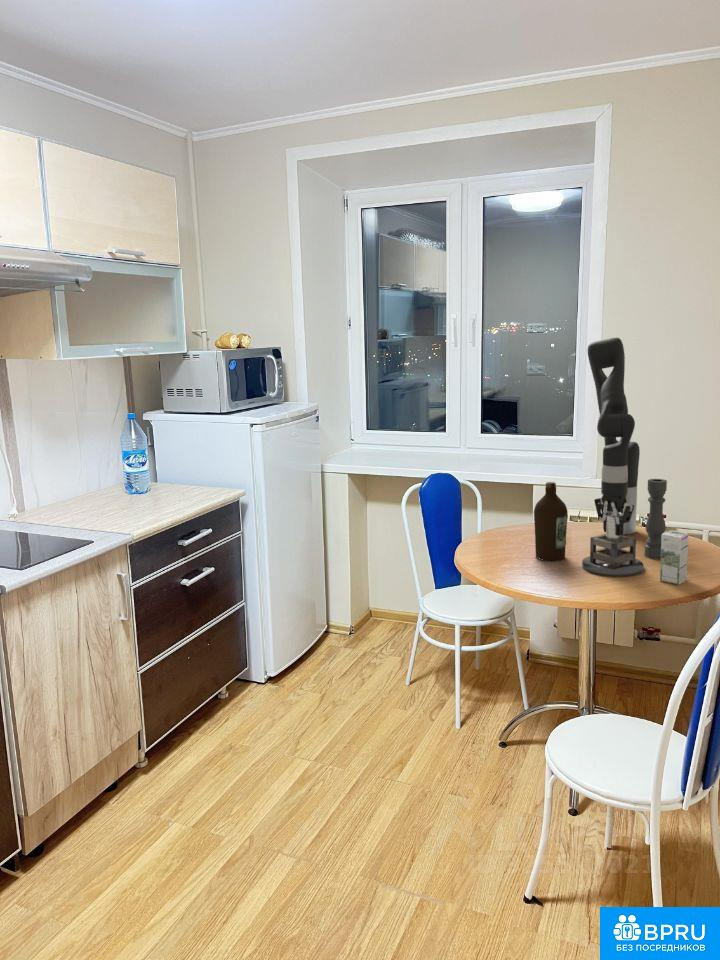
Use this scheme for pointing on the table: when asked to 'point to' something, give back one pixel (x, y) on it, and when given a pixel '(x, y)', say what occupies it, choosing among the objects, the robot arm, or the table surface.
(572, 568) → the table surface
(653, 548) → the candle holder
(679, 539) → the syrup box
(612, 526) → the silver metal bottle
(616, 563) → the collar stand
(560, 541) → the olive oil
